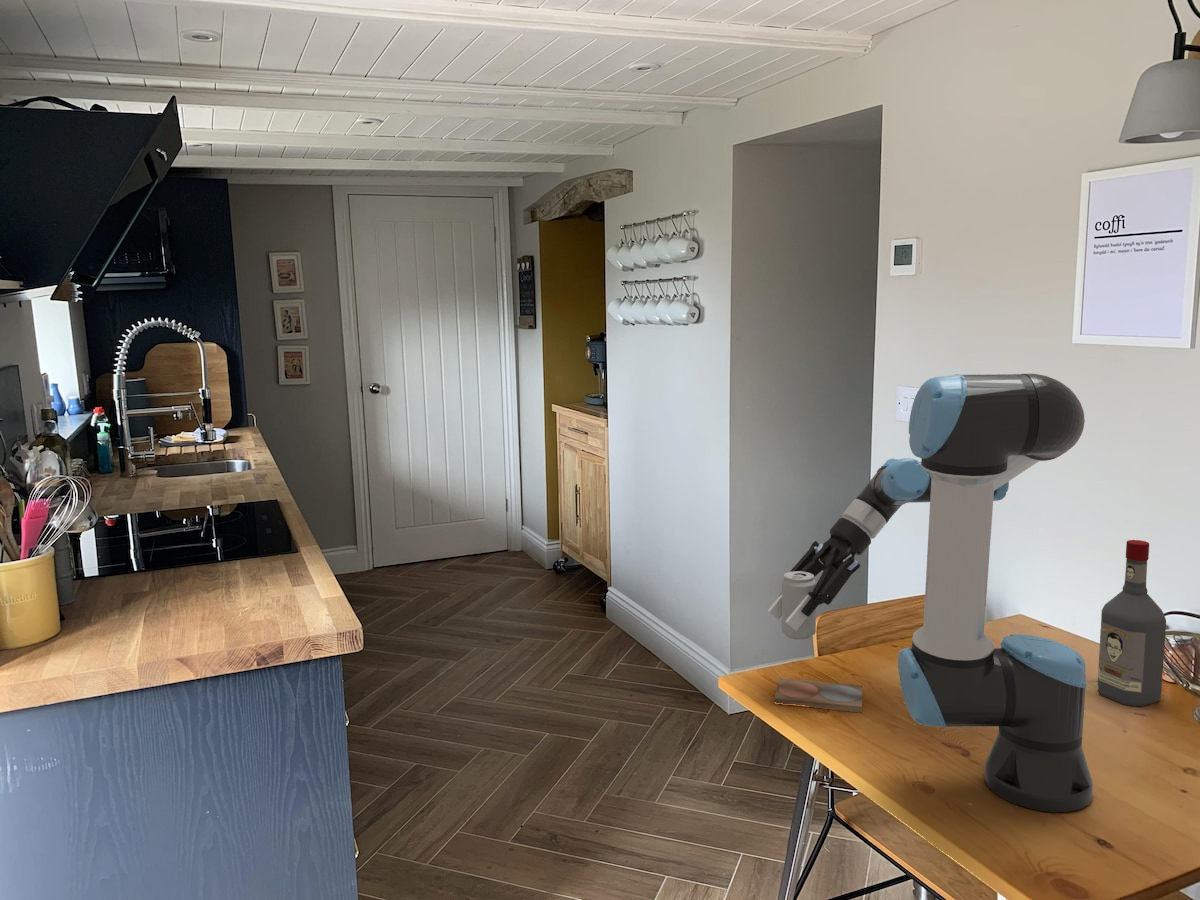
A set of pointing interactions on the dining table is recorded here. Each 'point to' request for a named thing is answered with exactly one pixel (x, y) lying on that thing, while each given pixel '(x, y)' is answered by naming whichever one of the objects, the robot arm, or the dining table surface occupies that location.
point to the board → (820, 694)
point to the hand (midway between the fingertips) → (781, 620)
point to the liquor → (1132, 637)
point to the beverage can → (797, 603)
